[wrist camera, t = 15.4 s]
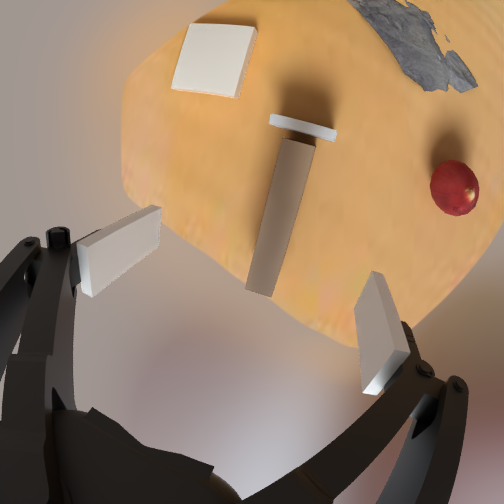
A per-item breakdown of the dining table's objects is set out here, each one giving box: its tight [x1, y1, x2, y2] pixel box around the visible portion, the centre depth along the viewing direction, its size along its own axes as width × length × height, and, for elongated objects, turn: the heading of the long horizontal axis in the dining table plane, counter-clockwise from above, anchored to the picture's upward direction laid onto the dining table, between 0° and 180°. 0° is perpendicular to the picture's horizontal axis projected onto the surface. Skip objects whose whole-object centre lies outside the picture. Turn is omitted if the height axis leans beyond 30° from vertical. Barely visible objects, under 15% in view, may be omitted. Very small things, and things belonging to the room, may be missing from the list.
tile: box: [171, 24, 258, 99], centre depth 25 cm, size 8×2×9 cm
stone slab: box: [347, 0, 478, 93], centre depth 19 cm, size 18×2×10 cm
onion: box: [430, 160, 479, 216], centre depth 21 cm, size 6×6×8 cm
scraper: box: [245, 113, 337, 297], centre depth 28 cm, size 6×18×6 cm, turn 168°
